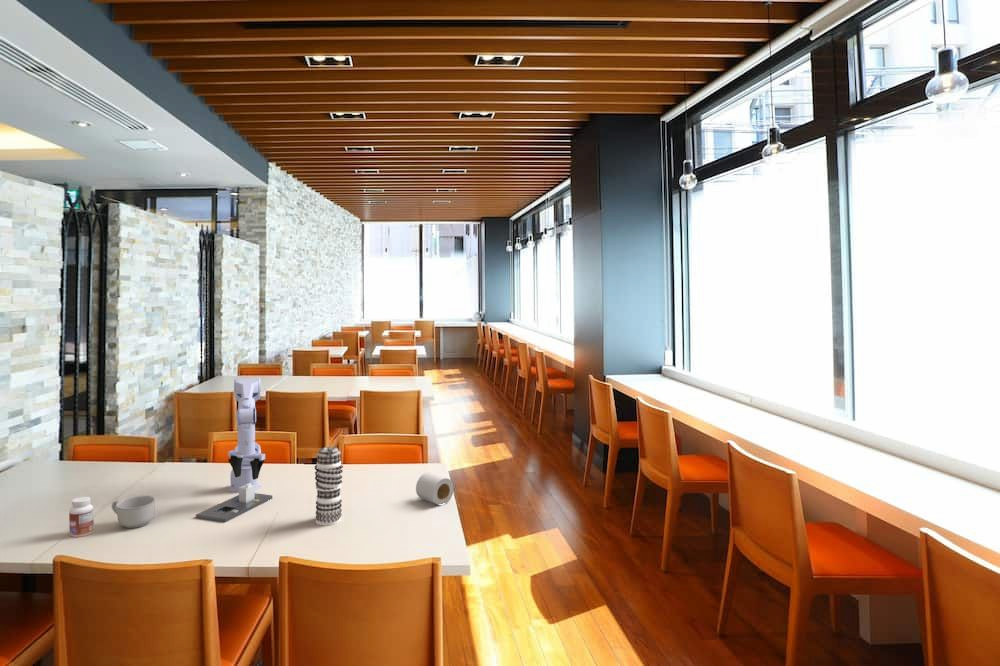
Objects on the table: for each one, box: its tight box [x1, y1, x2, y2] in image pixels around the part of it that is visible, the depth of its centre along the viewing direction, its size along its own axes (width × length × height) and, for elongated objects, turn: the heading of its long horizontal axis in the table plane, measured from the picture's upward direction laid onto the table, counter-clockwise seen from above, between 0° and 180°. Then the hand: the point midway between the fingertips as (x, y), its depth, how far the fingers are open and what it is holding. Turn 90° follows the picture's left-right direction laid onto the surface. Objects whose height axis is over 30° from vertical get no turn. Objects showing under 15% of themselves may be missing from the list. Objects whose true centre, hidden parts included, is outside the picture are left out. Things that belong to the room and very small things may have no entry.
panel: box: [195, 492, 273, 523], centre depth 204 cm, size 12×24×2 cm, turn 164°
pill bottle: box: [68, 496, 95, 538], centre depth 180 cm, size 6×6×11 cm
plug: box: [238, 483, 256, 503], centre depth 209 cm, size 3×4×7 cm
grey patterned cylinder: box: [314, 446, 344, 526], centre depth 194 cm, size 9×9×25 cm
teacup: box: [111, 494, 156, 529], centre depth 188 cm, size 14×11×8 cm
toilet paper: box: [415, 472, 454, 506], centre depth 215 cm, size 10×10×10 cm
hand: (246, 477), depth 208 cm, fingers open, 7 cm apart
